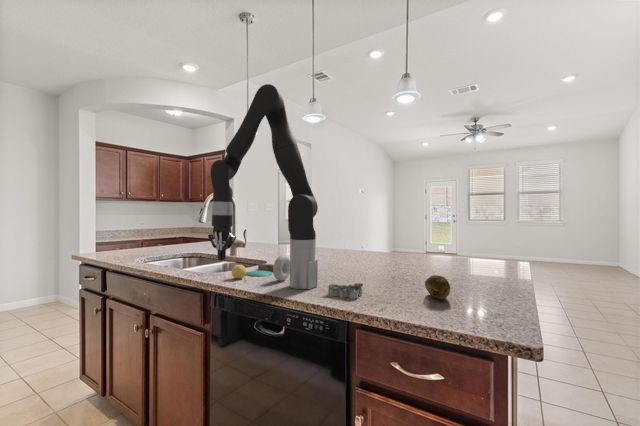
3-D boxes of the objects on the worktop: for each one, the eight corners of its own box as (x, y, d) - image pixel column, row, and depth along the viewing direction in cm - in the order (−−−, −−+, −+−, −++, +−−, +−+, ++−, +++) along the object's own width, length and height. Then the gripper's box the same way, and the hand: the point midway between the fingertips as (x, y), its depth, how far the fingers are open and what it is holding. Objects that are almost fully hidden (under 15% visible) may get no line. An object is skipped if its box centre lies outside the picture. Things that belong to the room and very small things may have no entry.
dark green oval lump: (454, 296, 100) (454, 271, 100) (448, 306, 89) (448, 279, 89) (428, 292, 104) (428, 269, 104) (418, 302, 93) (419, 275, 93)
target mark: (277, 272, 137) (277, 272, 137) (260, 277, 126) (260, 277, 126) (257, 270, 142) (257, 269, 142) (238, 274, 132) (238, 274, 132)
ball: (248, 278, 125) (249, 264, 125) (239, 280, 120) (239, 266, 120) (238, 276, 128) (238, 263, 128) (228, 279, 123) (228, 265, 123)
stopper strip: (285, 271, 140) (285, 266, 140) (282, 272, 138) (282, 266, 138) (261, 268, 146) (261, 263, 146) (258, 269, 145) (258, 263, 145)
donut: (278, 283, 116) (279, 257, 116) (271, 282, 117) (271, 256, 117) (292, 278, 125) (292, 254, 125) (285, 277, 126) (285, 253, 126)
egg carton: (364, 295, 101) (364, 283, 101) (355, 301, 95) (355, 288, 95) (335, 291, 107) (336, 279, 107) (325, 296, 100) (325, 283, 100)
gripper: (242, 214, 116) (241, 260, 116) (217, 213, 123) (216, 257, 123) (227, 214, 110) (226, 263, 110) (202, 213, 116) (201, 259, 116)
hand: (221, 259), depth 116 cm, fingers closed
